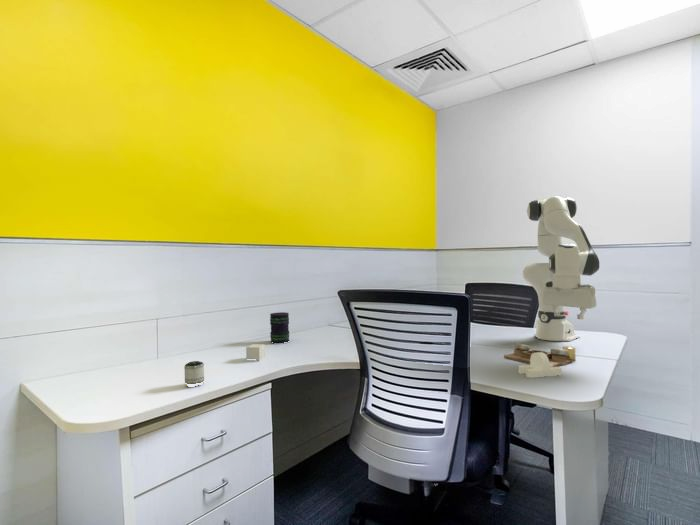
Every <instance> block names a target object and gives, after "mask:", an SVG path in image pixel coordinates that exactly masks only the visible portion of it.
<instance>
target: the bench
mask: <svg viewBox="0 0 700 525" xmlns="http://www.w3.org/2000/svg"><path fill="white" fill-rule="evenodd" d="M537 352H543V353H545V354H546V355H547V357H548V359H549V364H552V365H553V367H560V366H561V367H562V366H564V365H568V364H572V363H573V362H572V360H569V359H567V362H565V361H555V360H552V355H551V352H549V351H543V350H540V349H539V350H538V349H534V348H533V349H530V345H527V344H524V343H523V344H522V343H518V342H516V343H515V344H514V349H513V352H512V353H508V354H504V355H503V357H504V358H505V359H509V360H512V359H513V360H512V361H516V360H517V362H520V361H521V362H520V363H524V362H525V363H526V364H528V363H529V364H528V365H530V357H531V355H532V354H533V353H537Z"/></svg>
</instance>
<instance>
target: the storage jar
mask: <svg viewBox="0 0 700 525" xmlns="http://www.w3.org/2000/svg"><path fill="white" fill-rule="evenodd" d="M289 323H290V317H289V312H284V311H283V312H273V313H272V312H271V313H270V315H269V324H270V333H269V334H270V335H269V336H270V338H269V339H270V343H271V342H273V343H283V344H285V343H284V342H288V341H289V342H290V330H289V328H290V327H289ZM289 342H288V343H289ZM273 343H272V344H273Z"/></svg>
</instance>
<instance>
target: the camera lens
mask: <svg viewBox="0 0 700 525" xmlns="http://www.w3.org/2000/svg"><path fill="white" fill-rule="evenodd" d="M183 367H184V383H187V384H196V383H201V382H203V381H204V382H205V364H204V362H203V361H198V360H195V361H194V360H193V361H190V362H188V363H186V364H184V366H183ZM204 382H203V383H204Z"/></svg>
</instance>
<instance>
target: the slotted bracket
mask: <svg viewBox="0 0 700 525" xmlns="http://www.w3.org/2000/svg"><path fill="white" fill-rule="evenodd" d="M562 372H563V370H562V367H560V366H557V367H553V365H552V364H549V359H548V357H547V355H546V354H545V353H543V352H537V353H533V354H532V355H531V357H530V364H525V365H518V374H521V375H525V376H526V377H527V378H531V379H532V378H533V379H534V378H543V377H544V376H547V377H556V376H557V375H559V376H562ZM544 378H545V377H544Z"/></svg>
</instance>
